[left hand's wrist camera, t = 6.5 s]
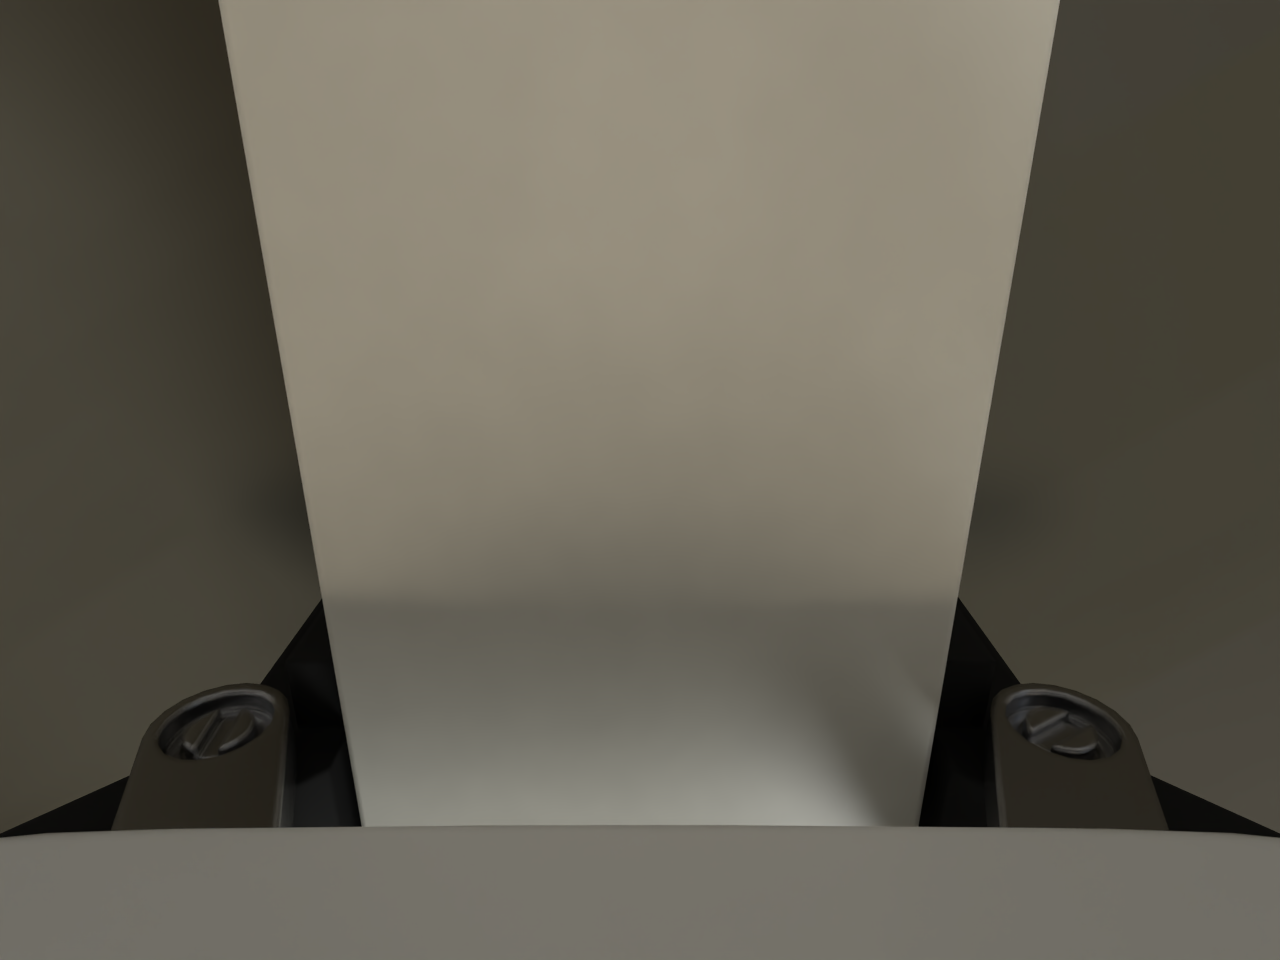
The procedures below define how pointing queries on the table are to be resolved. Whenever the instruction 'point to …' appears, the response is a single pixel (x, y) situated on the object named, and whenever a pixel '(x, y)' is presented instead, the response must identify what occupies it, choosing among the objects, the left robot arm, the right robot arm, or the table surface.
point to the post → (639, 384)
